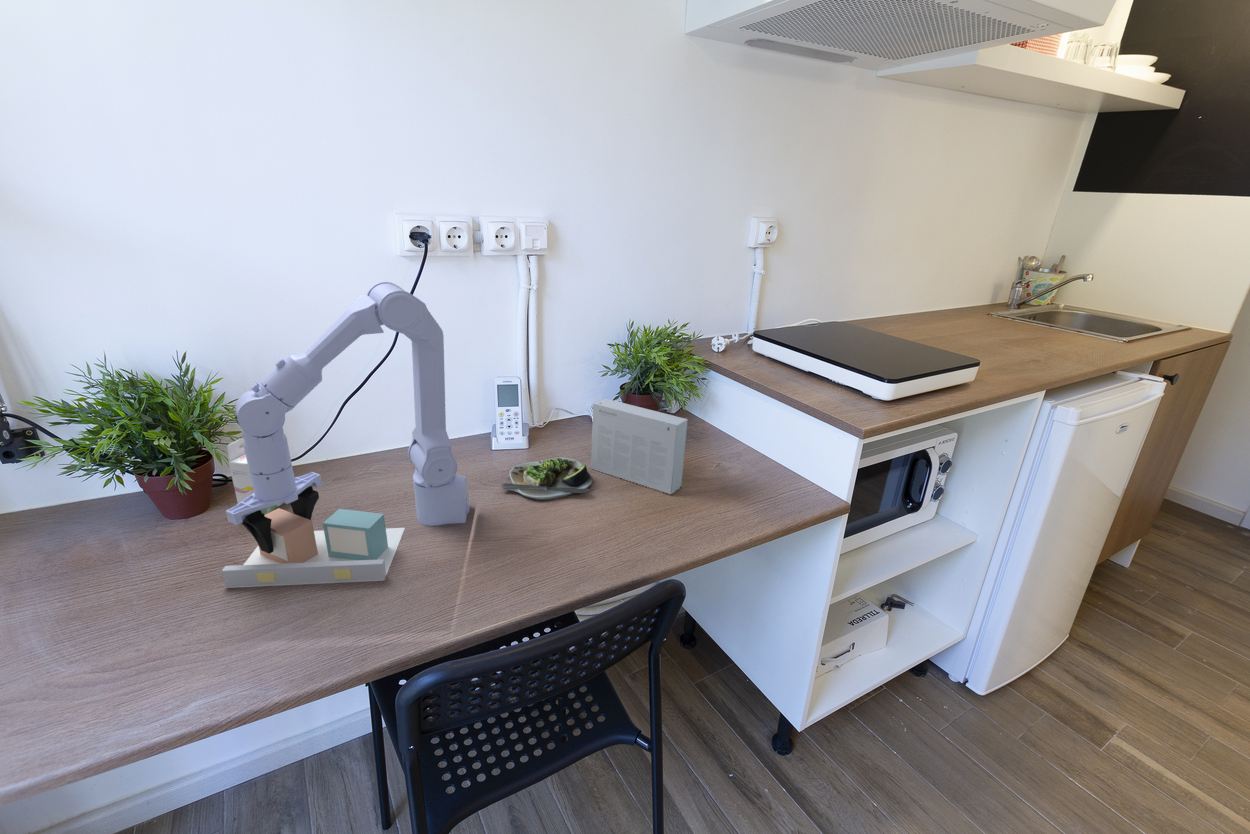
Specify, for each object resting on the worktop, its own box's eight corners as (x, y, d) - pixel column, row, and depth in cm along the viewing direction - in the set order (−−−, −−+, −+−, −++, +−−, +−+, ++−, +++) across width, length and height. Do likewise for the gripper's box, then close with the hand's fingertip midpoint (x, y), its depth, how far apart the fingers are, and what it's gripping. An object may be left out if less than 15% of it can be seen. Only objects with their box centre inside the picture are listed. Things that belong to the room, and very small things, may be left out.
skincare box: (683, 486, 126) (689, 418, 120) (671, 496, 122) (677, 426, 116) (603, 460, 136) (604, 396, 130) (589, 468, 132) (590, 403, 126)
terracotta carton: (285, 540, 100) (278, 508, 97) (318, 554, 97) (311, 520, 94) (259, 555, 96) (251, 521, 94) (292, 569, 93) (285, 534, 90)
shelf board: (405, 532, 105) (403, 513, 104) (384, 585, 92) (382, 564, 90) (269, 537, 102) (265, 517, 101) (226, 593, 88) (220, 571, 87)
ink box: (263, 522, 107) (247, 449, 101) (240, 518, 107) (222, 446, 102) (297, 499, 115) (283, 430, 109) (275, 496, 115) (260, 427, 110)
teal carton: (344, 541, 100) (339, 508, 98) (388, 546, 100) (383, 513, 97) (328, 557, 96) (322, 523, 94) (373, 562, 95) (368, 529, 93)
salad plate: (510, 513, 114) (509, 492, 112) (491, 473, 129) (490, 454, 127) (602, 497, 121) (603, 477, 119) (574, 461, 136) (575, 443, 134)
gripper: (240, 493, 83) (259, 572, 88) (329, 454, 95) (340, 526, 100) (210, 481, 85) (229, 558, 90) (299, 445, 98) (312, 515, 103)
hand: (286, 540), depth 95 cm, fingers open, 6 cm apart
